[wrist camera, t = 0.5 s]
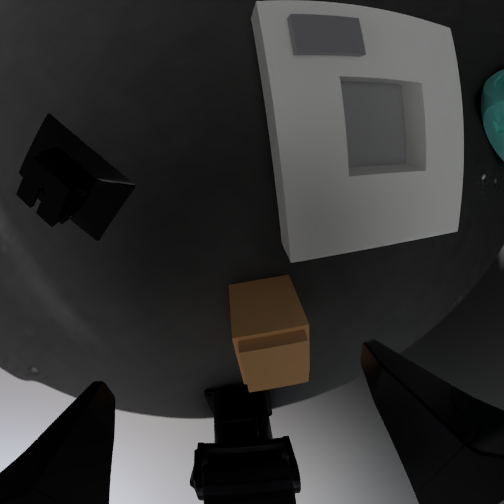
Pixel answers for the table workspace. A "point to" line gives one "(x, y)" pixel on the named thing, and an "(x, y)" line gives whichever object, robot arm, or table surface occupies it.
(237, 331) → the brown block
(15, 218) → the table surface
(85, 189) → the black angular piece
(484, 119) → the decorative dice
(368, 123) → the socket plate
